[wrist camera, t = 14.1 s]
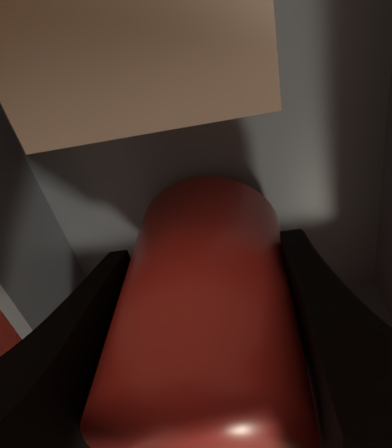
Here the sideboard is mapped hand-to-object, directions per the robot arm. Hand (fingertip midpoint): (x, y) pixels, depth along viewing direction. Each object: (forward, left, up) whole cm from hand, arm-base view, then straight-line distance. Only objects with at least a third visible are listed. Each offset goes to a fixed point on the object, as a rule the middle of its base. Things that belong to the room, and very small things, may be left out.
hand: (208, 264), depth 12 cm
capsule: (0, 0, -2) cm, 2 cm away
